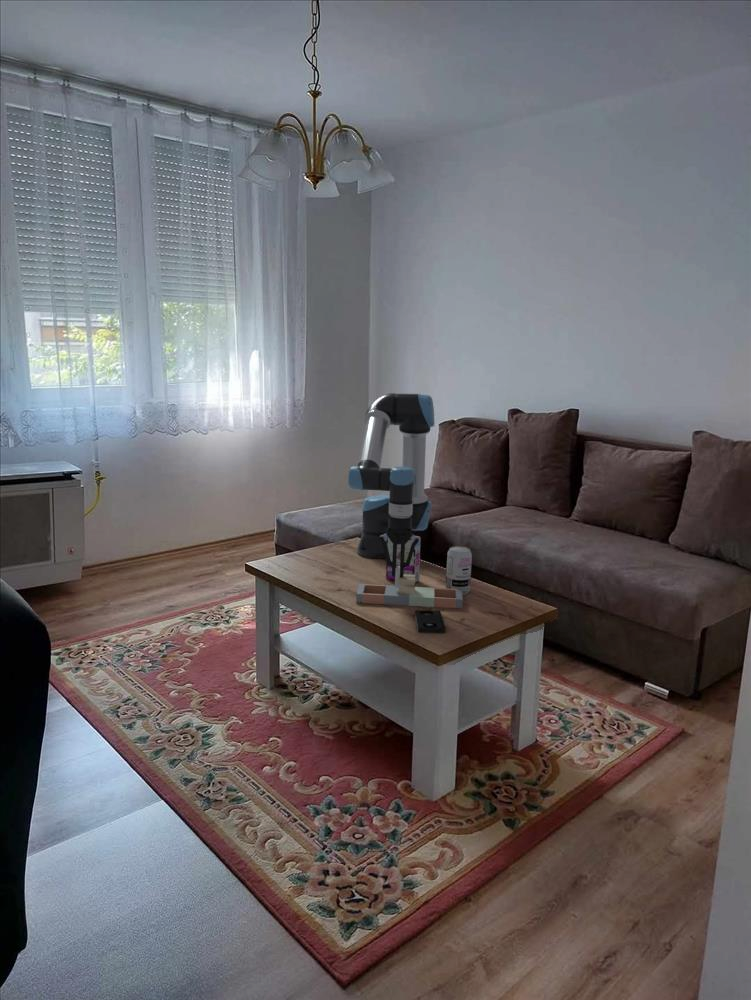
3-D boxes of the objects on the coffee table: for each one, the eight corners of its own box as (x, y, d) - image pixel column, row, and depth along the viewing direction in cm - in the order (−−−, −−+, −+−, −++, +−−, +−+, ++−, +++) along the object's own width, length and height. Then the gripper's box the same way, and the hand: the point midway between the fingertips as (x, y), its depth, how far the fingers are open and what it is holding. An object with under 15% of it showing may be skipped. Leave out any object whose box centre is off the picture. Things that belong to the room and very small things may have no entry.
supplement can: (452, 586, 250) (455, 544, 247) (473, 591, 245) (476, 549, 242) (441, 592, 244) (443, 549, 240) (462, 597, 239) (464, 554, 236)
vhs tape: (414, 616, 223) (414, 609, 222) (439, 616, 223) (440, 610, 222) (418, 634, 209) (418, 627, 208) (445, 634, 209) (445, 628, 209)
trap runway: (359, 592, 241) (359, 583, 240) (461, 597, 239) (461, 589, 238) (356, 602, 231) (356, 593, 231) (462, 608, 229) (462, 599, 228)
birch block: (399, 588, 237) (400, 574, 236) (414, 589, 236) (415, 574, 235) (398, 593, 232) (399, 578, 231) (414, 594, 231) (414, 579, 230)
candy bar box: (419, 581, 254) (421, 536, 251) (413, 585, 250) (415, 539, 247) (391, 575, 259) (393, 531, 256) (385, 579, 255) (386, 534, 252)
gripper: (379, 517, 226) (376, 588, 231) (420, 519, 225) (416, 591, 230) (381, 512, 233) (378, 581, 238) (420, 514, 232) (417, 583, 237)
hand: (397, 586), depth 234 cm, fingers closed
